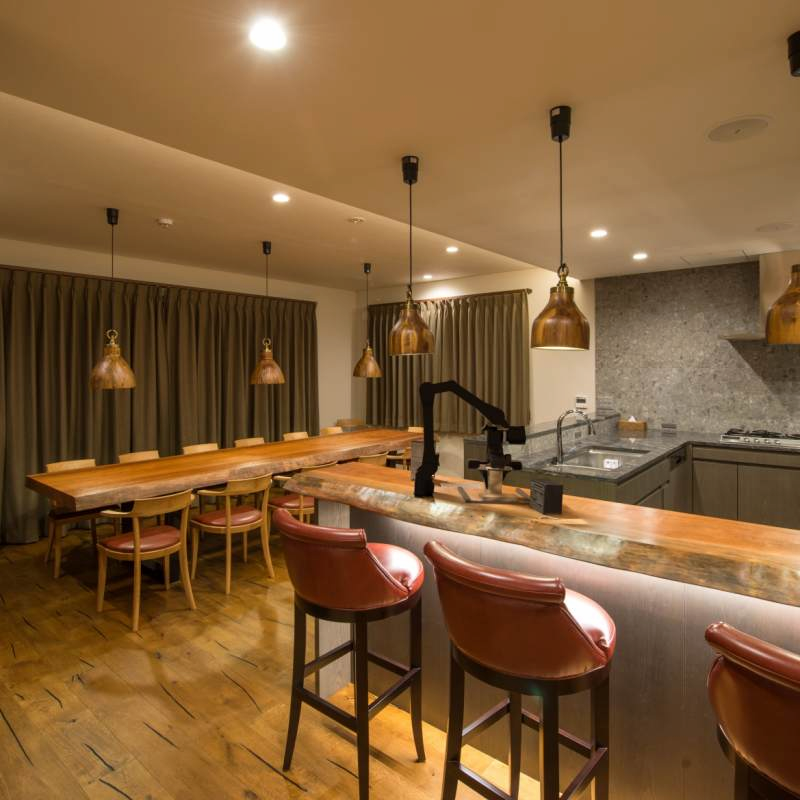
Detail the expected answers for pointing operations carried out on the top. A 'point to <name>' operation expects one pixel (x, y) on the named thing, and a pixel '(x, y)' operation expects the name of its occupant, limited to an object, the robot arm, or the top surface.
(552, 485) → the small box
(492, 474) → the tan brown block
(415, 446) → the coffee box
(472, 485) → the mat
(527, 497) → the rack
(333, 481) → the top surface
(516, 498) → the upper offcut
